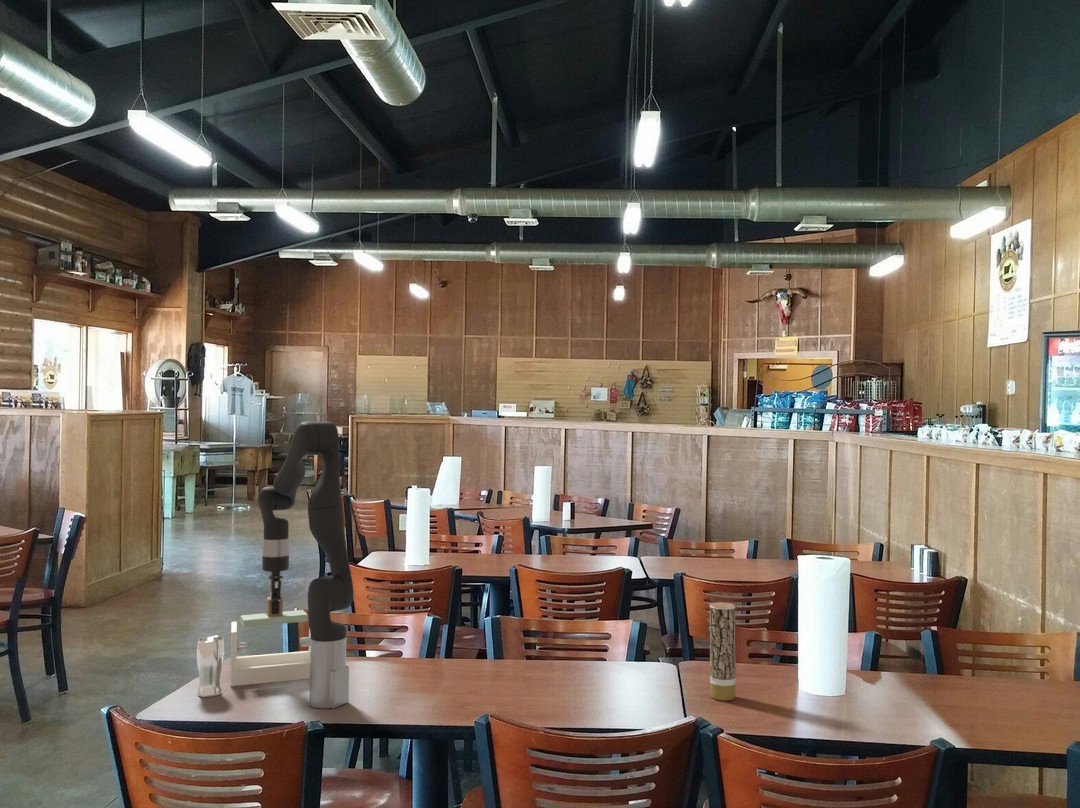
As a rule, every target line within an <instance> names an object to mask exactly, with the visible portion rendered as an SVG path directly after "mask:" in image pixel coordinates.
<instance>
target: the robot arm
mask: <svg viewBox="0 0 1080 808" xmlns="http://www.w3.org/2000/svg"><path fill="white" fill-rule="evenodd" d="M292 435H293V436H292V438H291V441H290V444H289V447H288V450H287V453H286V456H285V460H284V462H283V465H282V466H281V468H280V469H279V471H278V473H277V474H276V476H275V477H274V479H273V482H272V483H273V484H272V485H273V486H265V487H263V488H262V489H261V490H259V492H258V495H257V502H258V507H259V509H260V513H261V518H262V523H263V544H262V558H261V559H262V565H261V568H262V571H263V572H267V573H269V572H270V575H269V576H268V577H267V578H268V579H267V581H268V592H269V597H271V601H272V602H271V613H272V614H279V601H280V599H281V597H282V596H281V593H282V591H283V587H282V586H283V581H284V580H283V579H284V578H283V575H281V572H284V571H287V570H289V568H290V542H289V531H290V529H289V526H290V525H289V520H288V519H286V518H283V517H277V516H276V515H275V513H274V511H284V510H285V511H286V510H289V509H291V508H293V507H294V506H295V503H296V495H297V493H298V492H297V491H298V488H299V487H300V486H301V484H302V482H303V481H304V479H305V476H306V467H305V464H304V462H303V460H302V459H303V458H304V457H305V456H320V455H321V456H322V467H321V473H320V476H319V478H318V481H317V483H316V484H315V486H314V488H313V491H312V492H311V494H310V496H309V499H308V503H307V515H308V518H307V519H308V527H309V531H310V533H311V534H312V536H313V538H314V539H315V540H316V543H318V545H319V546H320V548H321V549H322V551H324V553H325V555H326V556H327V560H328V564H329V568H330V575H329V576H321V577H316V578H314V579H312V580H311V582H310V583H309V586H308V589H307V612H308V613H307V614H308V621H307V622H308V630H309V629H310V634H311V639H310V679H309V706H310V707H312V708H315V709H336V708H338V707H340V706H342V705H345V704H347V703H349V700H350V699H349V694H350V693H349V691H350V689H349V688H350V686H349V685H350V682H349V681H350V666H349V665H347V627H346V625H344V624H343V623H340V622H335V621H332V620H331V612H336V611H341V610H346V609H348V608H350V607H351V605H352V604H353V600H354V583H353V578H352V573H351V567H350V563H349V562H350V561H349V557H348V549H347V543H346V534H345V533H346V532H345V517H344V516H345V515H344V508H343V499H342V490H341V478H340V477H341V476H340V437H339V429H338V427H337V426H336V423H334V422H333V421H328V420H327V421H325V420H324V421H319V420H318V421H303V422H300V423H299V424H298V425H297V427H296V428H295V430H294V432H293V434H292ZM280 596H281V597H280Z"/></svg>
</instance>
